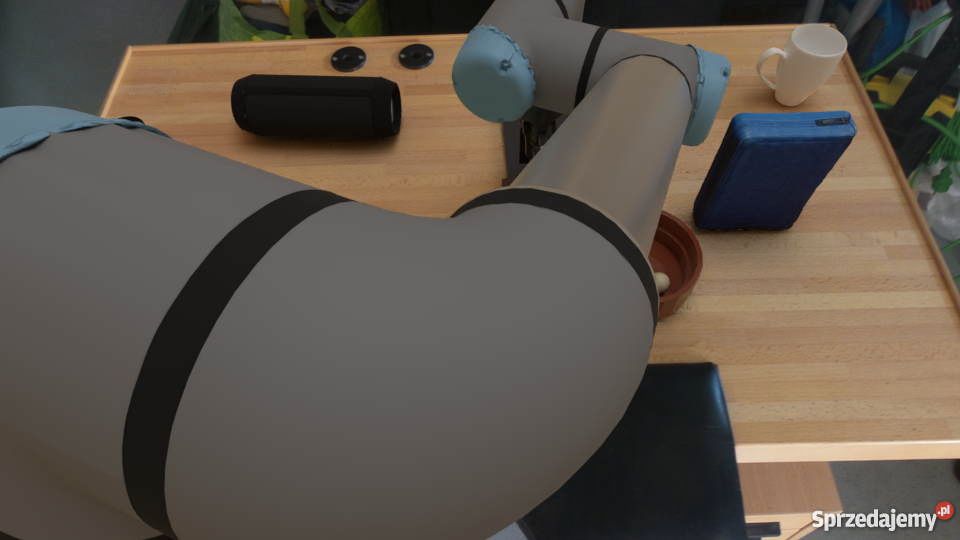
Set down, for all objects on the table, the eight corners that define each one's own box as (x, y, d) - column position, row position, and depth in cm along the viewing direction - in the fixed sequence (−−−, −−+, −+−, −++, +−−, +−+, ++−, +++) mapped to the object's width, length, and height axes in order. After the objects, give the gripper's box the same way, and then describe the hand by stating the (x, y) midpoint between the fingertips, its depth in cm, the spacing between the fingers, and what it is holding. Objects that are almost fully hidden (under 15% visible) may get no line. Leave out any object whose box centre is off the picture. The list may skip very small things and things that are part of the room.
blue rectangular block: (784, 207, 85) (855, 102, 68) (794, 236, 82) (871, 134, 65) (686, 208, 85) (733, 104, 68) (693, 237, 82) (743, 136, 65)
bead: (668, 298, 75) (665, 282, 73) (647, 296, 76) (643, 280, 75) (673, 284, 76) (670, 268, 75) (652, 283, 78) (649, 267, 76)
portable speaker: (405, 111, 98) (396, 63, 90) (396, 154, 93) (386, 106, 84) (262, 108, 100) (240, 60, 91) (245, 149, 95) (220, 102, 86)
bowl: (672, 342, 74) (684, 321, 68) (561, 298, 78) (565, 275, 72) (702, 252, 81) (715, 227, 76) (599, 217, 85) (605, 190, 80)
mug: (804, 80, 99) (836, 21, 89) (820, 113, 95) (856, 55, 85) (735, 83, 99) (760, 25, 90) (748, 117, 95) (776, 59, 85)
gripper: (591, 154, 57) (570, 268, 75) (560, 6, 70) (548, 133, 88) (517, 158, 57) (513, 271, 75) (500, 9, 70) (500, 135, 88)
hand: (532, 196), depth 81 cm, fingers open, 13 cm apart
